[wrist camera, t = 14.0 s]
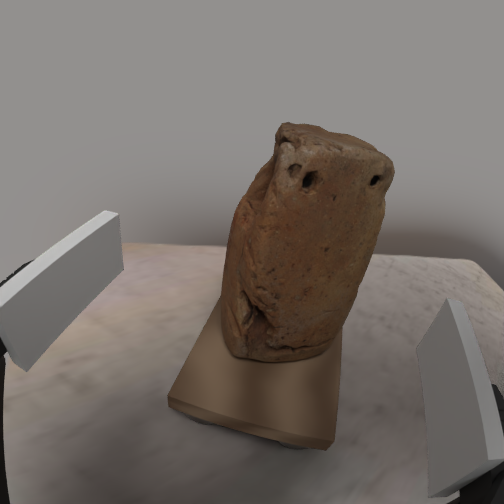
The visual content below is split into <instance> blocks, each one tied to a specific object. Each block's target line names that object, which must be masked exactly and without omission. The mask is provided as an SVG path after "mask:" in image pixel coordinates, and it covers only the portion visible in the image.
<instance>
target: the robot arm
mask: <svg viewBox="0 0 504 504" xmlns="http://www.w3.org/2000/svg"><path fill="white" fill-rule="evenodd" d="M123 270H124V266H123V256H122V245H121V233H120V219H119V214H118V213H114V212H110V211H106V210H105V211H103V212H102V213H100V214H99V215H97V216H95V217H94V218H92V219H91V220H89V221H88V222H86V223H85V224H84V225H82V226H81V227H79V228H78V229H76V230H75V231H74V232H72V233H70V234H69V235H68V236H66V237H65V238H63V239H62V240H61V241H59V242H58V243H57V244H55V245H54V246H52V247H51V248H50V249H48V250H47V251H46V252H44V253H43V254H42V255H40V256H39V257H38V258H36V259H35V260H32V261H30V262H28V263H26V264H23V265H22V266H21V267H20V268H18V269H17V270H16V271H15V272H14V274H11V275H10V276H8V277H7V279H6V280H3V281H2V282H1V283H0V504H10V500H9V494H8V487H7V479H6V470H5V458H4V441H3V394H4V377H5V365H6V363H5V358H4V356H3V355H4V354H5V353H6V352H8V353H9V355H10V357H11V359H12V360H13V362H14V363H15V364H16V365H18V366H19V367H20V368H22V369H23V370H24V371H26V372H28V370H29V369H30V368H31V367H32V366H33V365H34V363H35V362H36V361H37V360H38V359H39V358H40V357H41V355H42V354H43V353H44V352H45V351H46V350H47V349H48V348H49V346H50V345H51V344H52V343H53V342H54V341H55V340H56V339H57V338H58V337H59V335H60V334H61V333H62V332H63V331H64V330H65V329H66V328H67V327H68V326H69V325H70V324H71V323H72V321H73V320H74V319H75V318H76V317H77V316H78V315H79V314H80V313H81V312H82V311H83V310H84V309H85V308H86V307H87V306H88V305H89V304H90V303H91V302H92V301H93V300H94V299H95V298H96V297H97V296H98V295H99V294H100V293H101V292H102V291H103V290H104V289H105V288H106V287H107V286H108V285H109V284H110V283H111V282H112V281H113V280H114V279H115V278H116V277H117V276H118V275H119V274H120V273H121V272H122V271H123ZM416 349H417V355H418V362H419V368H420V375H421V383H422V391H423V399H424V409H425V420H426V433H427V450H428V498H433V497H447V496H449V495H451V494H453V493H455V492H456V491H458V490H459V491H460V497H458V498H457V499H455V500H453V501H451V502H449V503H447V504H504V400H503V396H502V395H501V393H500V391H499V390H498V388H497V386H496V385H494V384H491V382H490V378H489V375H488V372H487V368H486V365H485V362H484V359H483V356H482V353H481V350H480V347H479V344H478V341H477V338H476V336H475V333H474V330H473V328H472V325H471V322H470V320H469V317H468V315H467V312H466V310H465V307H464V305H463V302H461V301H457V300H453V299H449V298H447V299H446V300H445V302H444V304H443V306H442V308H441V309H440V311H439V313H438V315H437V316H436V318H435V320H434V321H433V323H432V325H431V326H430V328H429V330H428V331H427V333H426V334H425V336H424V338H423V339H422V341H421V342H420V344H419V345H418V347H417V348H416Z"/></svg>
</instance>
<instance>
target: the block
mask: <svg viewBox="0 0 504 504" xmlns="http://www.w3.org/2000/svg"><path fill="white" fill-rule="evenodd" d="M275 141H276V143H275V147H274V154H273V156H272V158H271V159H270V160H269V161H268V162H267V163H266V164H265V165H264V166H263V167H262V168H261V169H260V171H259V172H258V173H257V175H256V176H255V179H254V181H253V182H252V183H251V185H250V187H249V189H248V191H247V193H246V194H245V195H244V196H243V197H242V199H241V201H240V202H239V204H238V207H237V208H236V211H235V213H234V217H233V221H232V224H231V229H230V234H229V239H228V244H227V251H226V259H225V265H224V272H223V281H222V291H221V326H222V333H223V337H224V340H225V343H226V344H227V346H228V348H229V350H230V351H231V353H232V354H233V355H235V356H237V357H241V358H250V359H255V360H260V361H264V362H279V361H296V360H302V359H306V358H309V357H312V356H315V355H318V354H321V353H322V352H324V351H325V350H327V349H328V348H329V347H330V345H331V344H332V342H333V340H334V339H335V337H336V336H337V334H338V333H339V331H340V329H341V328H342V326H343V324H344V322H345V320H346V318H347V316H348V314H349V312H350V310H351V308H352V305H353V303H354V301H355V298H356V296H357V292H358V287H359V285H360V283H361V282H362V279H363V277H364V275H365V272H366V270H367V267H368V265H369V262H370V259H371V257H372V254H373V251H374V247H375V245H376V241H377V236H378V234H379V231H380V229H381V224H382V221H383V218H384V215H385V199H384V197H385V194H386V192H387V190H388V188H389V187H390V185H391V183H392V180H393V177H394V173H395V171H394V166H393V162H392V161H391V160H390V159H389V157H387V156H386V155H385V154H383V153H381V152H379V151H377V149H376V148H374V146H372V145H371V144H369V143H367V142H365V141H363V140H361V139H359V138H356V137H354V136H351V135H348V134H341V133H332V132H328V131H326V130H325V129H323V128H321V127H319V126H314V125H309V124H292V123H290V122H287V123H282V125H281V126H280V127H279V129H278V131H277V133H276V135H275Z"/></svg>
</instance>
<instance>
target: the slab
mask: <svg viewBox="0 0 504 504" xmlns="http://www.w3.org/2000/svg"><path fill="white" fill-rule="evenodd" d="M341 351H342V328H341V329H340V331H339V333H338V334H337V336H336V337H335V339H334V340H333V342H332V344H331V345H330V347H329V348H328V349H327V350H325V351H324V352H322V353H321V354H318V355H315V356H312V357H309V358H306V359H302V360H296V361H279V362H264V361H260V360H255V359H250V358H241V357H237V356H235V355H233V354H232V353H231V351H230V350H229V348H228V346H227V344H226V343H225V340H224V337H223V333H222V326H221V296H220V298H219V300H218V302H217V304H216V306H215V307H214V309H213V311H212V313H211V315H210V317H209V319H208V320H207V322H206V324H205V326H204V328H203V330H202V332H201V333H200V335H199V337H198V339H197V341H196V343H195V345H194V347H193V348H192V350H191V352H190V354H189V356H188V358H187V360H186V361H185V363H184V365H183V367H182V369H181V371H180V373H179V375H178V376H177V378H176V380H175V382H174V384H173V386H172V388H171V390H170V392H169V393H168V395H167V396H168V406H169V407H170V408H173V409H175V410H178V411H181V412H183V413H185V414H186V415H187V416H188V417H189V418H190V419H192V420H194V421H196V422H198V423H202V424H213V423H215V424H218V425H222V426H225V427H228V428H231V429H235V430H238V431H242V432H245V433H249V434H253V435H256V436H260V437H264V438H268V439H272V440H276V441H279V442H280V443H281V444H282V445H283V446H285V447H288V448H292V449H306V448H314V449H320V450H327V449H328V448H329V447H330V446H331V445H332V443H333V442H334V440H335V431H336V421H337V410H338V399H339V385H340V370H341Z"/></svg>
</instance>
